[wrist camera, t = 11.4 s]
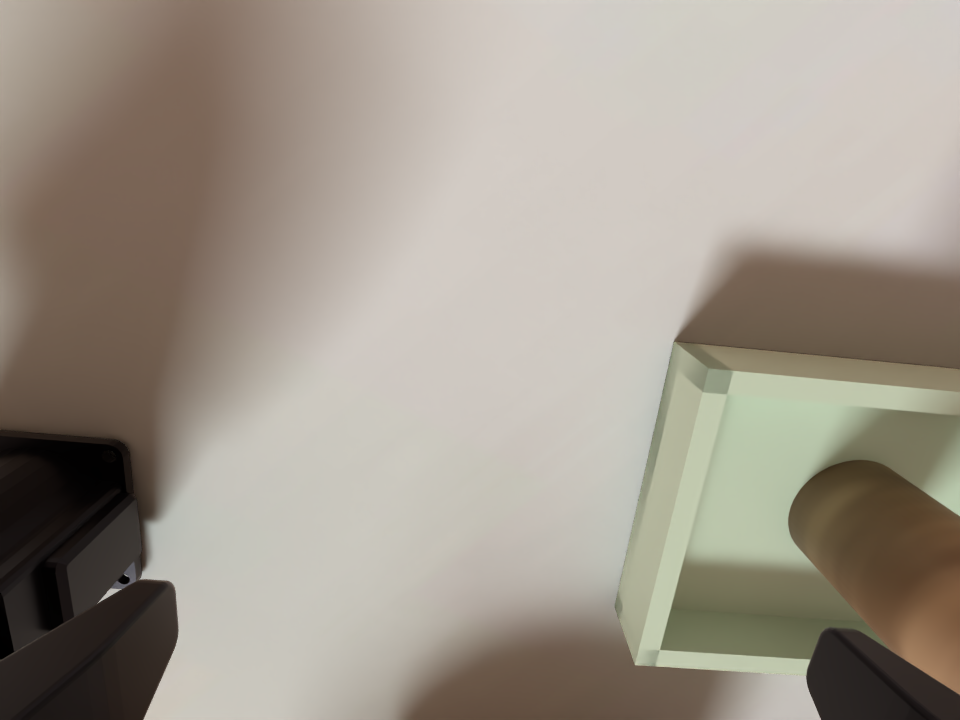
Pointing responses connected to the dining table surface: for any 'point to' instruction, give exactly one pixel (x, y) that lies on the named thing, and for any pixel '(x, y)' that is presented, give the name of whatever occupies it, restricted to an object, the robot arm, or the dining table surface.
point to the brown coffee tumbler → (887, 559)
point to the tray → (765, 497)
